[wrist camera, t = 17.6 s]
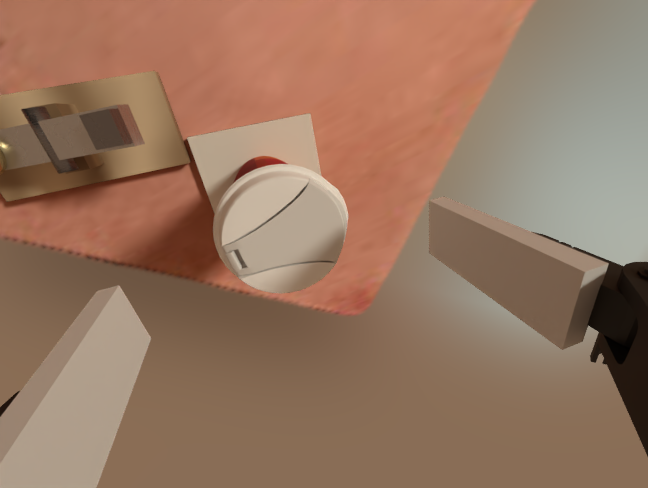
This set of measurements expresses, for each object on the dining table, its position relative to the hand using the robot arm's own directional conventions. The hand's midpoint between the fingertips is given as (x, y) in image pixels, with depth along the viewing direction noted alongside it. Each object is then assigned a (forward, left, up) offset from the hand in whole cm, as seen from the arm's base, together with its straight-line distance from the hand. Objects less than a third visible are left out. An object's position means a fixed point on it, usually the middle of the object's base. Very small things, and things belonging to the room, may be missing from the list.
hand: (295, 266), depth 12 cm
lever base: (-13, +7, -18) cm, 23 cm away
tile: (0, 0, -18) cm, 18 cm away
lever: (-13, +7, -13) cm, 20 cm away
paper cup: (0, 0, -18) cm, 18 cm away
